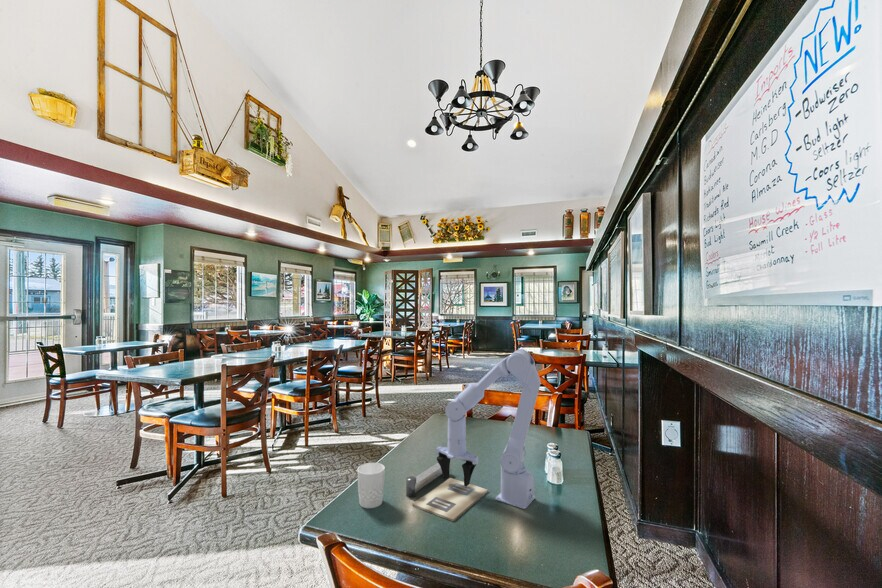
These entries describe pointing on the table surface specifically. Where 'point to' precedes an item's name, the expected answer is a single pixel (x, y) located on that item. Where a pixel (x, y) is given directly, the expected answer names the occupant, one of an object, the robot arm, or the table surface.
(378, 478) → the white cup
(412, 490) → the light grey long piece
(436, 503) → the label board
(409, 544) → the table surface
